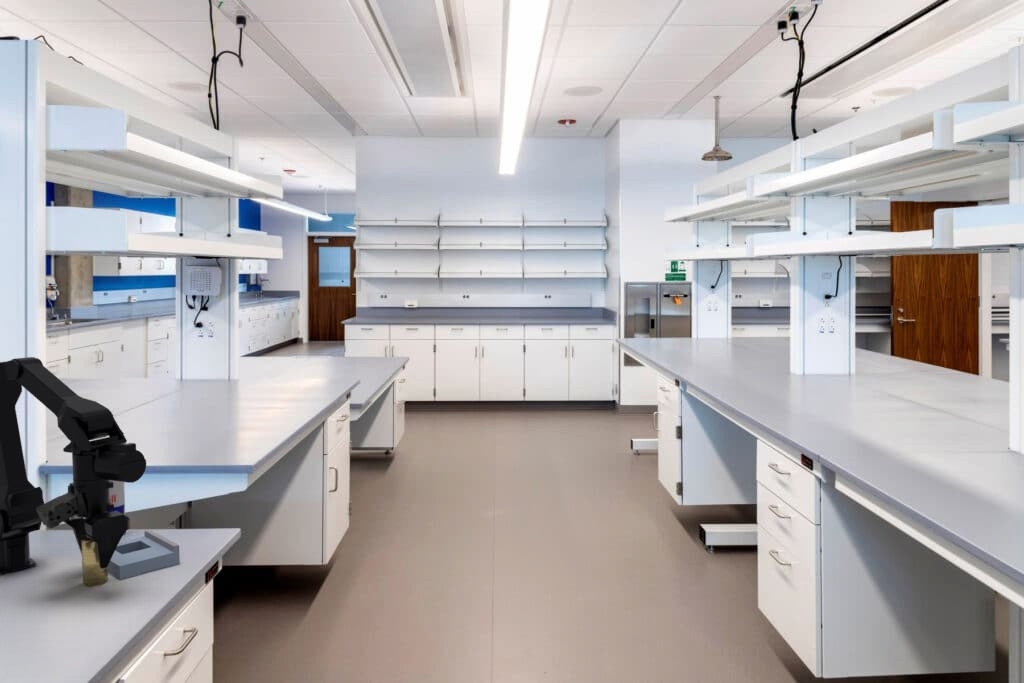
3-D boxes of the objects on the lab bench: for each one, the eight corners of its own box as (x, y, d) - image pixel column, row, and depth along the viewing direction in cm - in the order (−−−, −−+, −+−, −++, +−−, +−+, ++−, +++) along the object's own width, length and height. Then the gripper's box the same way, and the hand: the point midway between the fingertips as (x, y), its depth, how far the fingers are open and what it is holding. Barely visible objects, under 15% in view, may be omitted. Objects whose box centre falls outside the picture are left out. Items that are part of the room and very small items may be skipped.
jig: (92, 560, 148) (91, 542, 148) (149, 546, 156) (149, 529, 156) (120, 579, 139) (119, 559, 139) (179, 563, 147) (179, 545, 147)
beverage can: (99, 532, 166) (97, 465, 165) (128, 529, 168) (125, 463, 166) (94, 540, 160) (91, 471, 159) (123, 537, 162) (120, 469, 161)
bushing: (79, 582, 138) (77, 539, 137) (103, 576, 140) (101, 533, 140) (87, 588, 135) (85, 544, 134) (111, 582, 138) (109, 538, 137)
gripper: (24, 476, 137) (28, 560, 138) (58, 495, 124) (62, 588, 125) (91, 466, 145) (93, 545, 146) (129, 483, 132) (132, 569, 133)
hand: (94, 561), depth 137 cm, fingers open, 9 cm apart
